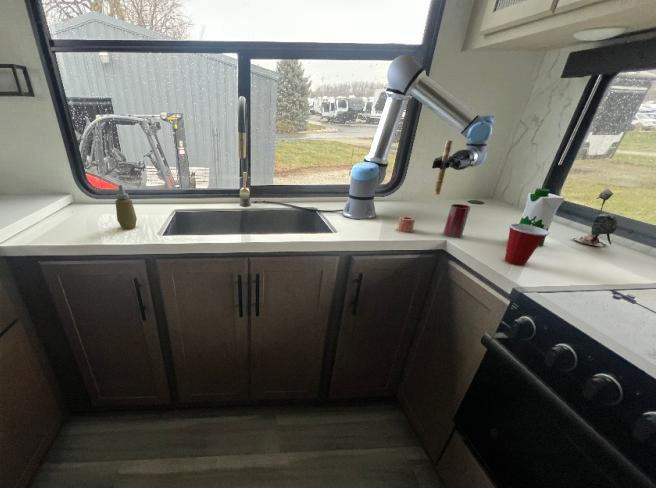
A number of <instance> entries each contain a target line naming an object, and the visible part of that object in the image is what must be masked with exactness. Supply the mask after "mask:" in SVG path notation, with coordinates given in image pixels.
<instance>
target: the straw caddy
mask: <svg viewBox="0 0 656 488" xmlns="http://www.w3.org/2000/svg"><path fill="white" fill-rule="evenodd" d="M415 223H416V217H413V216H408V215H404V216H400V217H399V220H398V225H397V231H399V232H401V233H412V232H414V226H415Z"/></svg>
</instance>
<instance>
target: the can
mask: <svg viewBox="0 0 656 488" xmlns="http://www.w3.org/2000/svg"><path fill="white" fill-rule="evenodd" d="M471 207H472V206H470V205H467V204H460V203H454V204H453V203H452V204H450V207H449V211H448V213H447V217H446V222H445V225H444V228H443V232H442V235H443V236H444V237H448V238H454V239H455V238H457V239H461V238H462V236H463V234H464V230H465V227H466V224H467V222H468V217H469V214H470V211H471Z"/></svg>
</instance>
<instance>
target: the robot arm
mask: <svg viewBox="0 0 656 488" xmlns="http://www.w3.org/2000/svg"><path fill="white" fill-rule="evenodd" d="M386 79H387V87H386V89H385V94H386V96H387V97H386V101H385V103H384V107H383V109H382V112H381V113H382V114H381V117H380V119H379V122H378V125H377V128H376V132H375V135H374V137H373V141H372V144H371V147H370V150H369V153H368V154H367V155H365V156H364V158H363V161H362V162H359V163H355V164H354V165H353V166H352V169H351V173H350V175H351V176H350V182H349V191H348V198H347V201H346V203H345V204H344V208H343V209H334V210H333V209H331V210H328V209H327V210H325V209H324V210H323V209H313V208H309V207H303V206H298V205H294V204H289V203H285V202H278V201H268V200H264V201H261V202H262V203H266V204H276V205H283V206H288V207H292V208H296V209H300V210H306V211H311V212H312V211H313V212H320V213H321V212H322V213H323V212H324V213H337V212H342V216H343V217H345V218H347V219H348V218H349V219H353V220H370V219H374V218H375V217H376V207H375V193H376V189H377V187H379V186H380V185H381V184H383V182H384V180H385V178H386V175H387V168H388V165H389V162H390V161H389V160H388V156H389V154H390V151H391V148H392V145H393V142H394V141H395V140H394V139H395V136H396V134H397V131H398V128H399V126H400V122H401V119H402V117H403V114H404V112H405V109H406V105H407V104H408V101H409V100H411V99H413V98H414V99H416V100H417V101H418V102H419V103H421V104H423V105H424V107H426V108H427V109H428V110H430V111H431V112H433V113H434V114H435V115H436V116H438V117H439V118H440V119H441V120H443V121H444V122H445V123H447V124H448V125H449V126H451V127H452V128H453V129H455V130H456V131H457V132H458V133H460V134H461V135H462V136H463V137H464V138H466V139H467V140H466V143H465V147H464V149H459V150H456V151H454V153H452V155H450V156H449V160H446V161H442V157H443V155H440V156H439V157H435V158H434V160H433V162H432V165H431V166H432V167H431V169H433V170H434V169H446V170H447V169H450V168H451V169H453V170H455V171H461V170H462V171H464V170H465V169H468V168H469V169H470V168H474V167H477V166H480V165H481V164H482V163H483V162H485V160H486V158H487V156H488V154H487V150H486V149H487V146H488V141H489V139H490V138H491V136H492V134H493V126H494V122H495V116H494V115H491V114H490V115H489V114H488V115H487V114H485V115H484V114H483V115H482V114H481V115H479V114H477V113H476V112H475V111H473V110H472V109H471V108H469V107H468V106H467V105H465V103H463V102H462V101H460V100H459V99H458V98H456V97H455V96H454V95H452V94H451V93H450V92H449V91H447V90H446V89H445V88H443V87H442V86H441V85H439V83H437V82H436V81H434V80H433V79H432V78H431V77H429V76H428V75H427V71H426V70H425V69H424V68H423V65H422V63H421V61H420V60H419V59H418V58H416V57H414V56H413V55H411V54H408V53H406V54H401V55H398V56H397V57H395V58H394V59H392V61H391V63H390V64H389V66H388V67H387V72H386ZM441 161H442V162H441ZM440 165H441V166H440ZM257 202H259V201H256V200H254V202H253V203H254V204H256V203H257Z"/></svg>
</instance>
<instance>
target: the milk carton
mask: <svg viewBox="0 0 656 488" xmlns="http://www.w3.org/2000/svg"><path fill="white" fill-rule="evenodd" d="M550 192H551V189H548V188H541V187H539V188H538V187H537V188H535V190H534V192H529V193H528V194H527V199H526V205H525V208H524V210H523V213H522V216H521V218H520V220H519V223H518V224H525V225H530V226H535V227H538V228H542V229H544V230H546V231H548V232H549V229H550V227H551V225H552V223H553V221H554V218H555V216H556V213H557V211H558V209H559V208H560V206H561V205H562V203H563V202H564V201H565V199H566V197H564V196H560V195H557V194H553V193H550ZM546 237H547V236H546ZM546 237H545V238H544V239H543V240H542V241H541V242H540V244H539V245H538V246H537V247H543V246H544V244H545V240H546Z"/></svg>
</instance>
